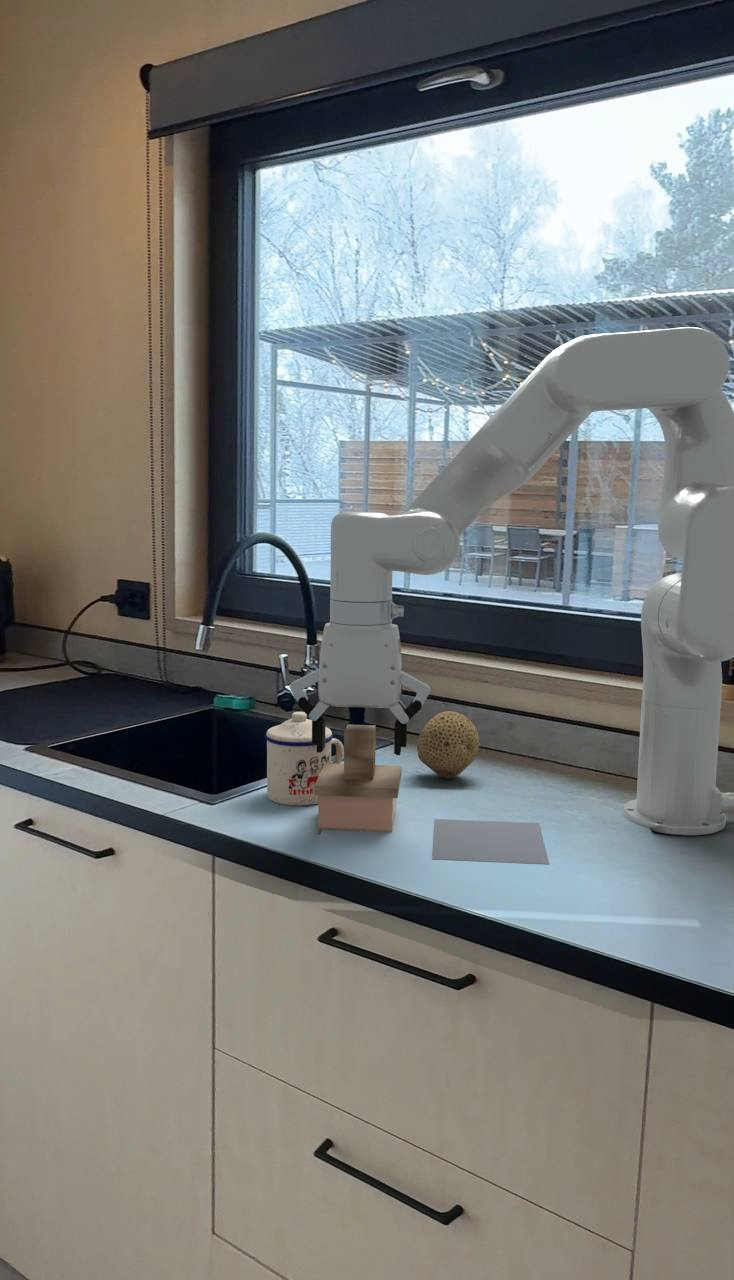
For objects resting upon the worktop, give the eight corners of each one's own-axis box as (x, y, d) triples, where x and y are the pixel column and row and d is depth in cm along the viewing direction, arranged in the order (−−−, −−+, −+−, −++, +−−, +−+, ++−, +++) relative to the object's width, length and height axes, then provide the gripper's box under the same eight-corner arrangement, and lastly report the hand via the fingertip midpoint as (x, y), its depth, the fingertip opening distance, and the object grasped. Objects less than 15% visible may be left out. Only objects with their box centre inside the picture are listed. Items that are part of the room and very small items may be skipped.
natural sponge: (481, 788, 143) (483, 719, 142) (417, 787, 144) (419, 718, 142) (475, 771, 152) (477, 705, 151) (415, 769, 152) (417, 704, 151)
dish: (396, 813, 132) (396, 775, 131) (392, 836, 123) (392, 796, 123) (327, 810, 133) (327, 773, 132) (318, 833, 124) (318, 793, 123)
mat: (538, 827, 127) (539, 823, 127) (549, 869, 113) (549, 864, 113) (434, 823, 128) (434, 819, 128) (431, 864, 115) (432, 859, 114)
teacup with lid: (291, 811, 132) (291, 723, 131) (252, 794, 139) (251, 711, 138) (362, 794, 140) (363, 711, 138) (322, 779, 147) (322, 700, 145)
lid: (401, 774, 132) (402, 720, 131) (397, 798, 122) (398, 739, 121) (324, 772, 133) (324, 718, 132) (314, 795, 123) (314, 736, 122)
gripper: (432, 612, 127) (429, 746, 130) (295, 608, 129) (294, 741, 131) (431, 619, 120) (428, 761, 122) (285, 616, 121) (285, 756, 124)
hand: (359, 751), depth 127 cm, fingers open, 9 cm apart
